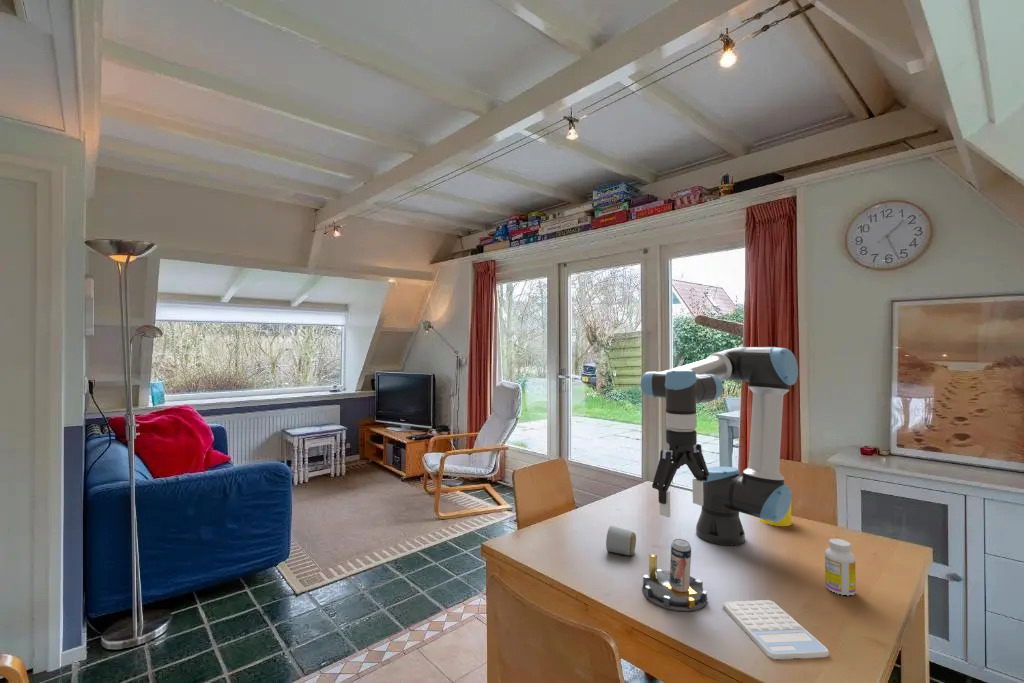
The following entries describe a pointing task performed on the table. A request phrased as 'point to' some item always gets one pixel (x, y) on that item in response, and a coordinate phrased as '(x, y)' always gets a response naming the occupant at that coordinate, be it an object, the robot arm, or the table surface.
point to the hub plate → (674, 608)
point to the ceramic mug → (620, 541)
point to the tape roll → (784, 522)
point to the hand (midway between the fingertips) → (682, 509)
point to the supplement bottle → (840, 568)
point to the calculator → (775, 630)
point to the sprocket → (664, 593)
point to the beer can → (680, 565)
